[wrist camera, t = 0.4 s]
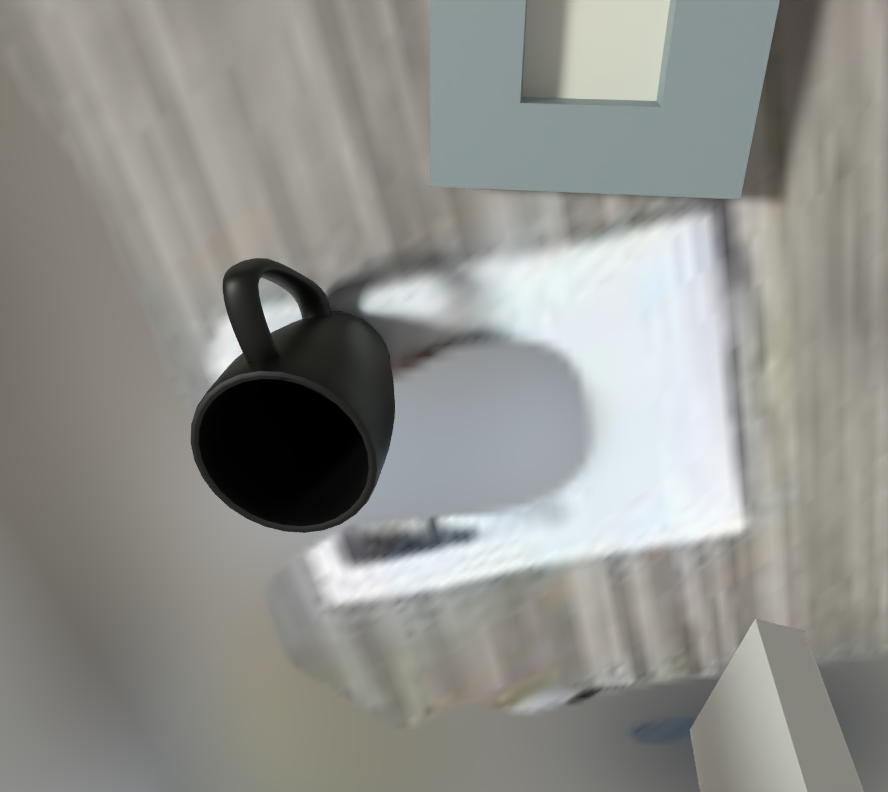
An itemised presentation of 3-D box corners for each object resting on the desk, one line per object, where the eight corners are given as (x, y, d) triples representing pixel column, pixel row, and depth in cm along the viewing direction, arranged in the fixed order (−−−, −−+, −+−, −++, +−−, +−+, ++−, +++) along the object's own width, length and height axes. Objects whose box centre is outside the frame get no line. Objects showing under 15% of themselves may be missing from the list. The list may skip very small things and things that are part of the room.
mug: (388, 203, 36) (337, 270, 28) (426, 421, 41) (393, 532, 33) (227, 220, 37) (133, 289, 29) (284, 429, 43) (219, 536, 35)
